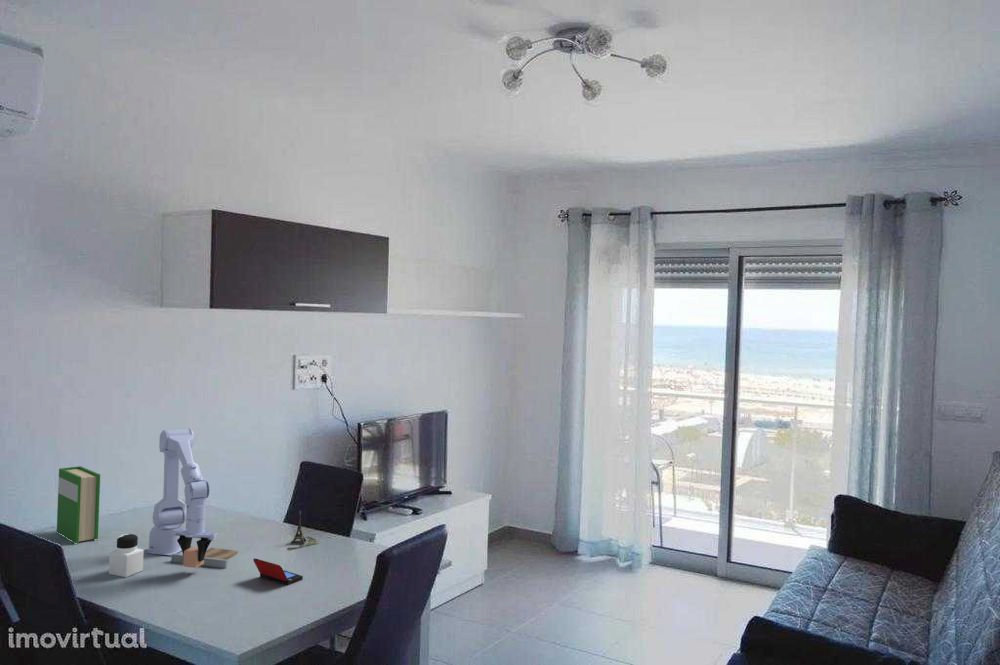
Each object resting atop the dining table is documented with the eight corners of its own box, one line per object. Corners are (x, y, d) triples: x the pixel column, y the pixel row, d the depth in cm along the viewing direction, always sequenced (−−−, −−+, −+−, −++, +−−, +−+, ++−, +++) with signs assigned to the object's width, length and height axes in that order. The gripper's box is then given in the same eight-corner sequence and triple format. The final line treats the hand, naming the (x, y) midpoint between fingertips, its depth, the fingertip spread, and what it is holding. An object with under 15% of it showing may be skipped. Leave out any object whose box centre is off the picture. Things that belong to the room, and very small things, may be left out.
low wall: (171, 561, 252) (171, 554, 252) (173, 560, 253) (173, 553, 253) (225, 568, 249) (225, 560, 248) (227, 567, 250) (227, 559, 249)
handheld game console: (304, 579, 242) (305, 557, 242) (279, 589, 233) (280, 566, 233) (276, 571, 249) (277, 549, 249) (251, 580, 239) (252, 557, 239)
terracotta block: (183, 566, 241) (183, 550, 240) (191, 561, 245) (192, 546, 245) (195, 567, 240) (196, 552, 240) (203, 563, 244) (204, 548, 244)
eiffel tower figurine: (289, 552, 270) (291, 515, 269) (273, 545, 276) (275, 509, 276) (323, 543, 281) (325, 508, 281) (307, 537, 288) (309, 503, 287)
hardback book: (97, 540, 270) (100, 474, 270) (75, 544, 264) (78, 477, 264) (78, 529, 281) (80, 466, 281) (56, 533, 276) (59, 468, 275)
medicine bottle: (143, 570, 242) (144, 534, 242) (125, 577, 236) (127, 540, 235) (126, 567, 245) (127, 531, 244) (108, 574, 238) (109, 536, 238)
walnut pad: (195, 559, 255) (195, 556, 255) (211, 550, 265) (211, 547, 265) (221, 562, 254) (222, 559, 254) (237, 553, 264) (237, 550, 263)
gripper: (167, 519, 239) (166, 561, 240) (209, 523, 237) (207, 566, 237) (181, 513, 246) (179, 554, 247) (221, 518, 244) (219, 559, 244)
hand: (193, 559), depth 242 cm, fingers closed on terracotta block, 4 cm apart
